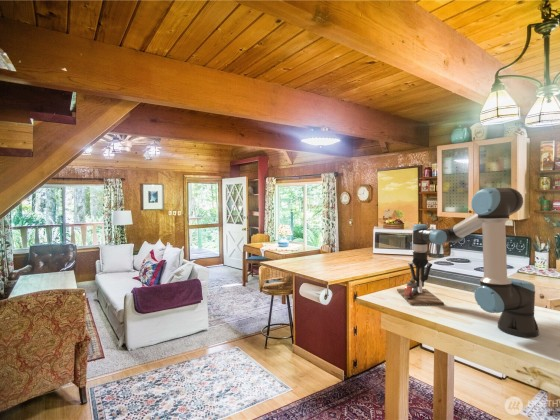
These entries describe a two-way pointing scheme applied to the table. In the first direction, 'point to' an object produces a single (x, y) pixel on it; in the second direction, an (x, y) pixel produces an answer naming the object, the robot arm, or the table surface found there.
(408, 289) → the lever
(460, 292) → the table surface
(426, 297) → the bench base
